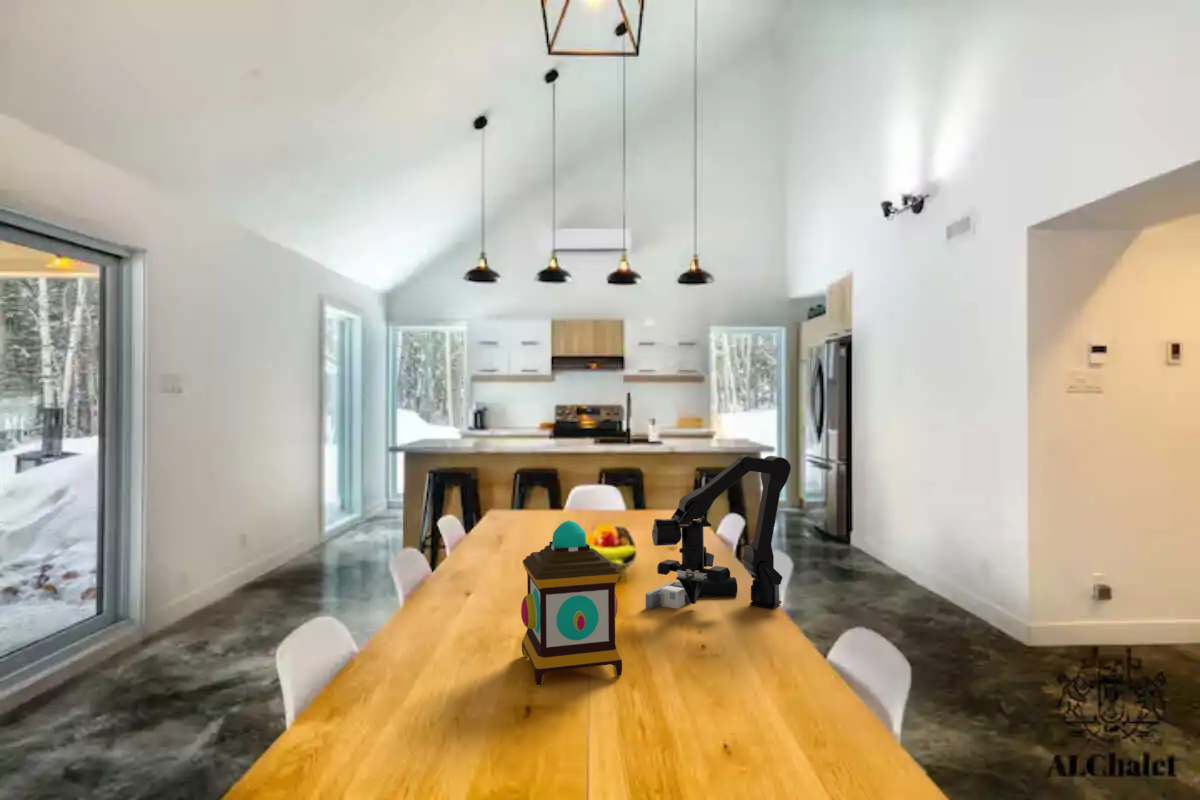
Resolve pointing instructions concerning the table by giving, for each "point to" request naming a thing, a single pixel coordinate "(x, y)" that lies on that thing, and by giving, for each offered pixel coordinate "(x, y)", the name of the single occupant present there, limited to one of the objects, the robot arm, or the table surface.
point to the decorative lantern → (569, 606)
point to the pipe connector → (719, 588)
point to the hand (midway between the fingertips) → (693, 603)
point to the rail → (656, 597)
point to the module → (673, 596)
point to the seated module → (685, 591)
